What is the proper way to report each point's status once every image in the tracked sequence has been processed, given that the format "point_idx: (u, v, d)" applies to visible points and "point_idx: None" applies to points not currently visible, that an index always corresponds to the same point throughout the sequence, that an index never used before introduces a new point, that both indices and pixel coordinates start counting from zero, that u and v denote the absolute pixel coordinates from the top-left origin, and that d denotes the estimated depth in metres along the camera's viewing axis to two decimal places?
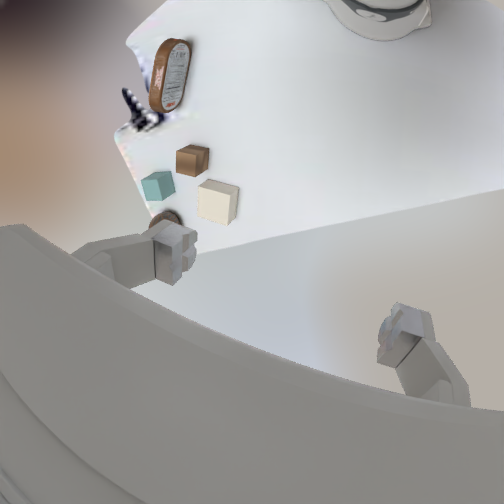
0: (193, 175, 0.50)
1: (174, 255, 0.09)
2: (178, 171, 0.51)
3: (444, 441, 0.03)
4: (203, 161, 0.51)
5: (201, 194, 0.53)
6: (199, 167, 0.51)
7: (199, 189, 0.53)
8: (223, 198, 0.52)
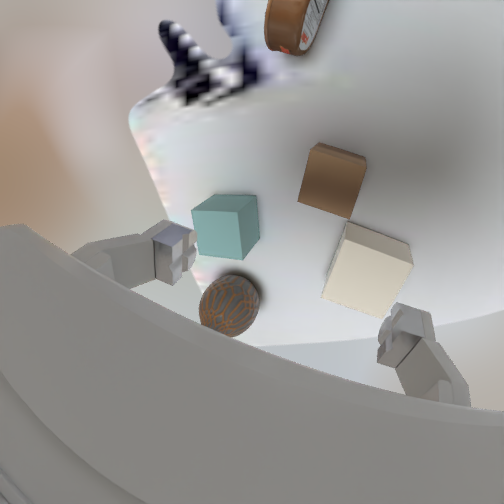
0: (346, 214, 0.21)
1: (174, 255, 0.09)
2: (305, 201, 0.22)
3: (444, 441, 0.03)
4: None
5: (347, 258, 0.24)
6: None
7: (345, 246, 0.23)
8: (396, 269, 0.22)
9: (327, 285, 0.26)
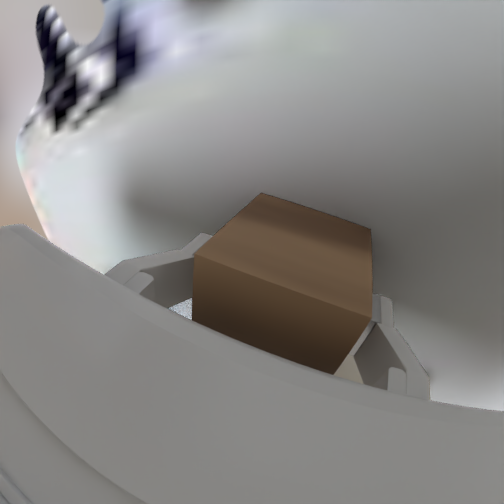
0: None
1: None
2: None
3: (444, 441, 0.03)
4: None
5: None
6: None
7: None
8: None
9: None
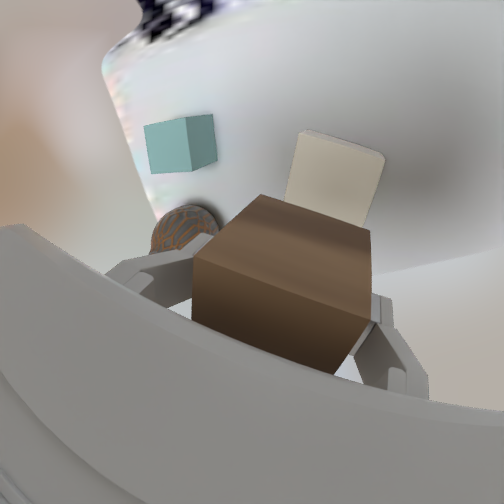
0: None
1: None
2: None
3: (444, 441, 0.03)
4: None
5: (305, 155, 0.20)
6: None
7: (301, 141, 0.20)
8: (365, 167, 0.19)
9: (286, 194, 0.23)
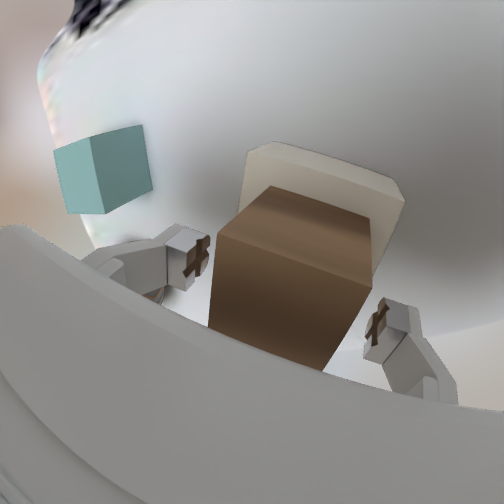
0: None
1: (188, 260, 0.09)
2: None
3: (444, 441, 0.03)
4: None
5: (260, 192, 0.12)
6: None
7: (252, 166, 0.12)
8: (368, 213, 0.11)
9: None
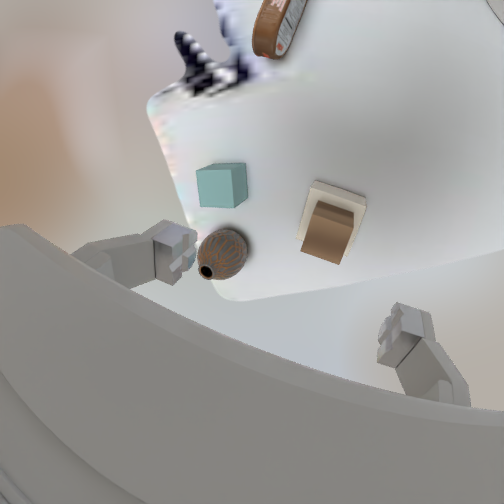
0: (336, 261, 0.29)
1: (174, 255, 0.09)
2: (306, 250, 0.29)
3: (444, 441, 0.03)
4: None
5: (314, 202, 0.32)
6: None
7: (311, 192, 0.31)
8: (353, 211, 0.30)
9: (300, 227, 0.34)
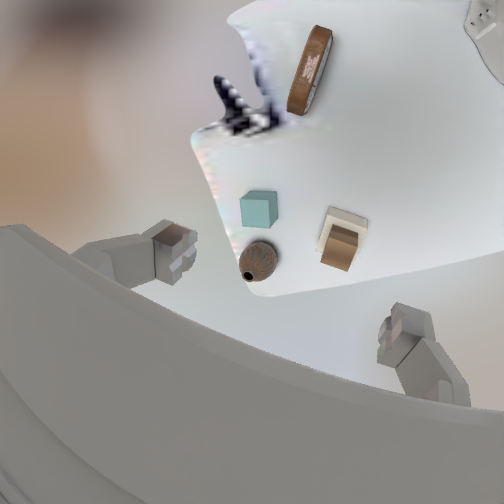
0: (345, 269, 0.40)
1: (174, 255, 0.09)
2: (324, 262, 0.41)
3: (444, 441, 0.03)
4: None
5: (329, 225, 0.43)
6: None
7: (328, 218, 0.43)
8: (358, 231, 0.42)
9: (319, 242, 0.45)
